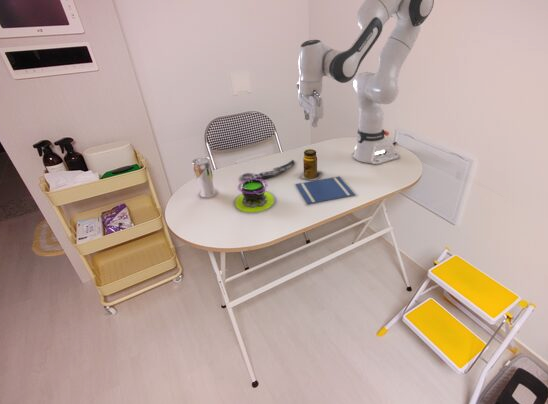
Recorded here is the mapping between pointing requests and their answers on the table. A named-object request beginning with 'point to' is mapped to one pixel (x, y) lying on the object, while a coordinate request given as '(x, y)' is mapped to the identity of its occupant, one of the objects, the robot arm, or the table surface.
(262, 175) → the knife
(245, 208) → the toy cauldron
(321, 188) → the blue board
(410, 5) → the robot arm
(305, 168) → the condiment
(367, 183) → the table surface
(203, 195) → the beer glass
